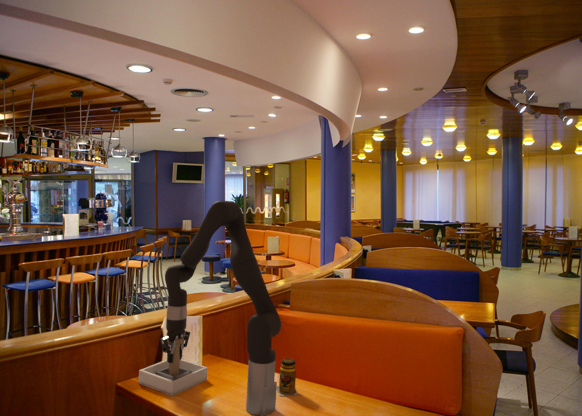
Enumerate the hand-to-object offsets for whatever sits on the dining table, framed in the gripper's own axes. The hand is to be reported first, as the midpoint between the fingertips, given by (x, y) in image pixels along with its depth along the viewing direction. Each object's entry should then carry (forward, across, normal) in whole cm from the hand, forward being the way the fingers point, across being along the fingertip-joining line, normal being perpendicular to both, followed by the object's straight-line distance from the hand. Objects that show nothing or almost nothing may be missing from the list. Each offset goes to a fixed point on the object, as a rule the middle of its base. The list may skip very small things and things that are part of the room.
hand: (174, 360), depth 166 cm
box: (+8, 0, 0) cm, 8 cm away
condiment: (+9, +20, -39) cm, 44 cm away
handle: (+6, 0, 0) cm, 6 cm away
